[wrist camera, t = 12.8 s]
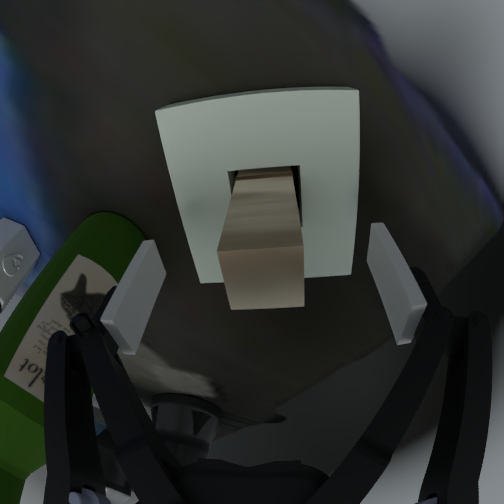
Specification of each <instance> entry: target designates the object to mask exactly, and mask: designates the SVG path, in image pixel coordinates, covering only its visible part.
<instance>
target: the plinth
mask: <svg viewBox="0 0 504 504" xmlns="http://www.w3.org/2000/svg"><path fill="white" fill-rule="evenodd" d="M155 114H156V119H157V123H158V128H159V132H160V136H161V141H162V145H163V149H164V153H165V158H166V162H167V166H168V170H169V174H170V178H171V182H172V185H173V189H174V193H175V197H176V201H177V204H178V208H179V212H180V215H181V219H182V222H183V226H184V229H185V233H186V236H187V240H188V243H189V247H190V250H191V253H192V257H193V260H194V263H195V267H196V270H197V273H198V276H199V280H200V283H217V282H224V280H223V276H222V272H221V267H220V263H219V259H218V255H217V248H218V245H219V241H220V237H221V233H222V229H223V226H224V222H225V218H226V214H227V211H228V207H229V203H230V200H231V196H232V192H233V189H234V185H235V172H234V171H235V170H244V169H255V168H266V167H279V166H294V165H297V169H298V185H299V205H300V209H298V212H299V218H300V225H301V231H302V238H303V245H304V278H309V277H324V276H338V275H351V270H352V261H353V252H354V242H355V232H356V219H357V205H358V187H359V159H360V113H359V90H356V89H353V88H350V87H295V88H279V89H267V90H256V91H247V92H239V93H231V94H224V95H218V96H211V97H205V98H200V99H194V100H189V101H184V102H179V103H175V104H170V105H167V106H165V107H163V108H161V109H158V110H156V111H155Z"/></svg>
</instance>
